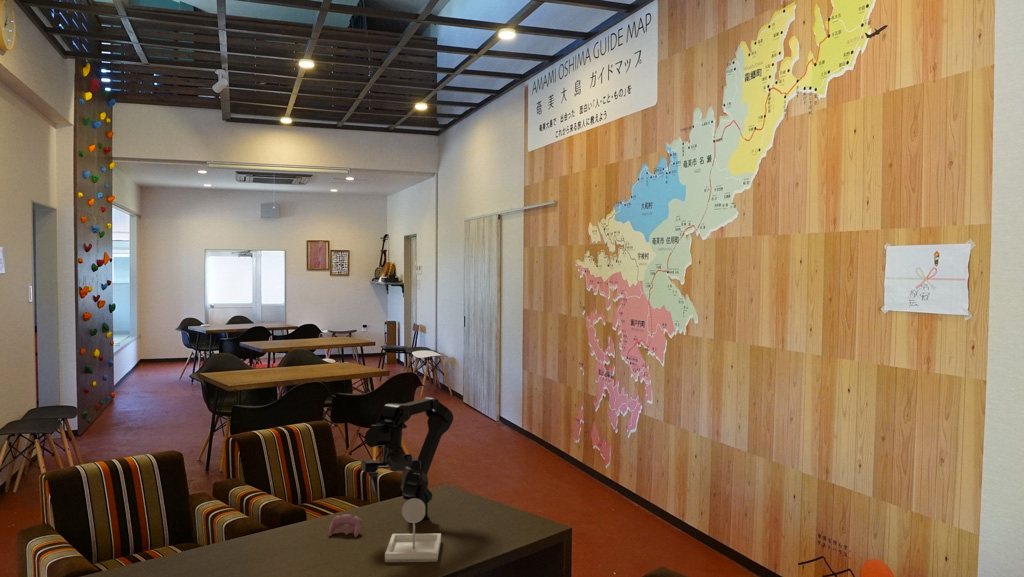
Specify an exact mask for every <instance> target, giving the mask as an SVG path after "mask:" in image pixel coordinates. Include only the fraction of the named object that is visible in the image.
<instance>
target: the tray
mask: <svg viewBox="0 0 1024 577" xmlns="http://www.w3.org/2000/svg"><path fill="white" fill-rule="evenodd" d="M441 544H442V533H441V532H440V533H435V532H434V533H433V532H432V533H415V549H413V533H392V534H391V537H390V540H389V542H388V544H387V548H386V550H385V553H384V563H435V562H436V563H437V562H438V560H439V555H440V554H439V553H440V550H441V549H440V548H441Z"/></svg>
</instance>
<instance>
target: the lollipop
mask: <svg viewBox="0 0 1024 577" xmlns="http://www.w3.org/2000/svg"><path fill="white" fill-rule="evenodd" d="M425 514H426V507H425V504H424V503H423V502H422V501H421V500H420V499H417V498H412V499H409V500H405V502H404V503H403V505H402V508H401V515H402V517H403V519H404V520H405V521H406V522H408V523H409V524H412V534H413V549H415V534H416V524H417V523H419V522H421V521H423V520H422V519H423V518H424V516H425Z"/></svg>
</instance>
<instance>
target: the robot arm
mask: <svg viewBox="0 0 1024 577" xmlns="http://www.w3.org/2000/svg"><path fill="white" fill-rule="evenodd" d="M421 413H424V415H426V417H427V422H426V423H427V430H428V431H427V433H426V436H425V437H424V438H425V439H424V441H423V443H422V446H421V449H420V452H419V454H418V456H417V458H416V457H413V455H412V454H409V453H408V454H407V453H406V454H404V453H403V447H402V445H403V444H402V441H403V430H405V429H407V428H408V426H407V424H406V423H405V421H408V420H409V418H410V417H411V416H414V415H418V414H421ZM453 421H454V415H453V413H452V411H451V409H449V408H448V407H447V406H445V405H444V404H443V403H441V401H440V400H439V399H437V398H435V397H429V396H427V397H426V396H425V397H423V398H421V399H417V400H413V401H409V402H405V403H386V404H384V405H383V408H382V409H381V412H380V414H379V416H378V418H377V420H376V422H375V424H370V425H369V429H367V431H366V432H365V435H364V441H365V444H366V445H367V446H368V447H369V448H375V447H376V448H377V447H380V446H381V447H382V449H383V452H382V457H381V461H380V462H377V461H376V460H374V459H363V460H362V461H361V462H360V470H362V471H363V473H364V472H365V473H366V474H367V475H368V477H369V478H370V481H371V484H372V489H373V491H374V493H375V494H376V493H378V476H379V472H378V470H379V469H390V471H391V472H397V471H398V472H399V471H401V472H402V474H401V475H402V476H401V481H400V482H401V486H400V490H401V494H402V498H403V500H405V501H407V500H409V499H412V498H417V499H420V500H421V501H422V502H423V503H424V504H425V507H426V514H425V516H424V518H423V519H422V520H421V521H425V520H429V519H430V516H429V515H428V512H429V510H428V509H429V508H428V507H429V505H428V503H430V501H431V500H432V499H433V493H432V491H431V490H429V489H428V487H429V479H428V478H429V477H428V472H429V470H430V469H431V468H430V467H431V464H432V462H433V459H434V456H435V455H436V451H437V449H438V447H439V443H440V440H441V438H442V436H443V435H444V434H445V433H446V432H447V431H448V430H449V429H450V428H451V425H452V423H453Z"/></svg>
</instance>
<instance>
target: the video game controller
mask: <svg viewBox="0 0 1024 577" xmlns="http://www.w3.org/2000/svg"><path fill="white" fill-rule="evenodd" d="M345 525H348V526H347V528H346V527H345ZM361 526H362V519H361V518H360V517H358V516H357V515H355V514H347V513H345V514H338V515H335V517H333V519H332V520H331V523H330V524H329V529H328V532H327V533H328V536H329V537H332V536H333V534H334V533H335V531H336V530H337V532H338V533H339V534H344V533H345V531H346V532H347V533H348V534H353V536H354V537H355V538H357V537H358V536H359V533H360V530H361Z"/></svg>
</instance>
